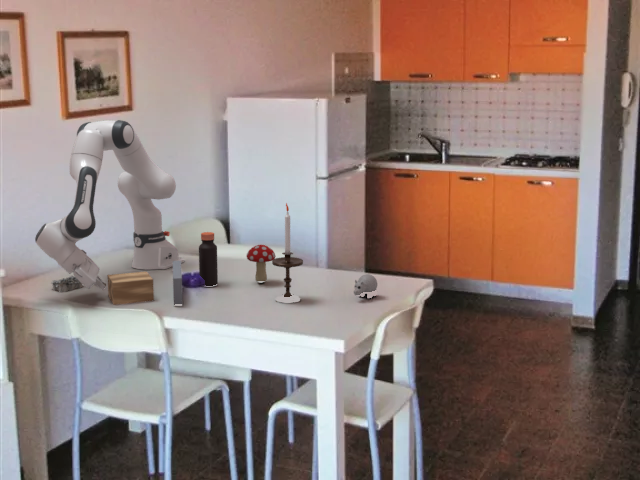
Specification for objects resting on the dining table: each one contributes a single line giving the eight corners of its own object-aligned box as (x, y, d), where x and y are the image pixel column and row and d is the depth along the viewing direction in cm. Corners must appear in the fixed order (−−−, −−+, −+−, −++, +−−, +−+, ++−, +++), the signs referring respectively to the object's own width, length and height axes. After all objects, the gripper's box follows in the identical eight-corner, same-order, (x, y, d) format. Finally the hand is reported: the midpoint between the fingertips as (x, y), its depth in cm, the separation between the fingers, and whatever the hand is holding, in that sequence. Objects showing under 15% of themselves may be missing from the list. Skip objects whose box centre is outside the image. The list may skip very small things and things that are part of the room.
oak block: (108, 296, 321) (107, 274, 320) (147, 292, 327) (146, 271, 325) (113, 305, 311) (112, 283, 309) (153, 301, 316) (153, 279, 314)
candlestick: (268, 297, 320) (267, 201, 312) (296, 294, 324) (296, 199, 317) (278, 305, 310) (278, 206, 303) (307, 302, 314) (308, 204, 307)
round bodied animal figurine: (345, 300, 317) (345, 277, 315) (364, 293, 326) (364, 270, 324) (362, 304, 313) (362, 280, 311) (381, 296, 322) (381, 274, 320)
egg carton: (61, 293, 325) (61, 282, 324) (49, 290, 330) (48, 279, 329) (85, 287, 333) (85, 276, 332) (73, 284, 338) (72, 273, 337)
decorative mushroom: (258, 288, 332) (258, 249, 328) (240, 282, 340) (240, 244, 336) (281, 283, 339) (281, 245, 335) (263, 278, 347) (263, 240, 344)
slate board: (173, 286, 333) (172, 260, 331) (181, 286, 334) (180, 260, 332) (173, 306, 308) (172, 278, 306) (182, 306, 309) (181, 278, 307)
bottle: (195, 285, 336) (194, 233, 332) (209, 282, 341) (208, 230, 336) (207, 288, 331) (206, 236, 327) (221, 285, 336) (220, 233, 332)
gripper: (78, 262, 303) (109, 288, 306) (83, 248, 322) (112, 274, 326) (65, 275, 303) (96, 301, 306) (71, 261, 322) (100, 286, 326)
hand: (104, 287), depth 316 cm, fingers closed
